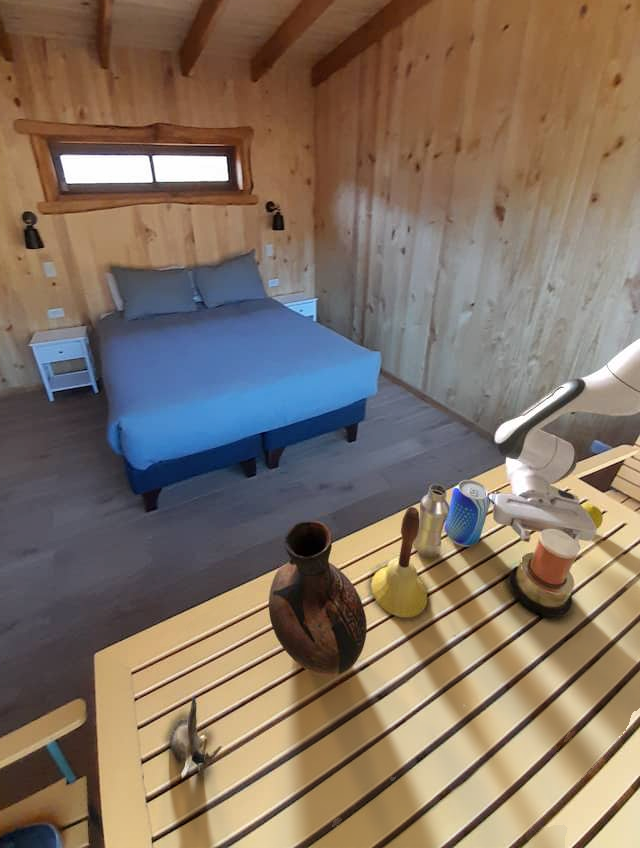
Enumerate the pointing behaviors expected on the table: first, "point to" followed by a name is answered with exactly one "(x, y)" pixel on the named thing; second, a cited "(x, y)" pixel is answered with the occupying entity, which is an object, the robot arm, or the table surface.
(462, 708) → the table surface
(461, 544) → the beer can
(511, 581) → the tan hollow cylinder
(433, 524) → the silver metal bottle
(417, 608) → the handbell
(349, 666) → the ceramic vessel
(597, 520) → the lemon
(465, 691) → the table surface
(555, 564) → the terracotta cup
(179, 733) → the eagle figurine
